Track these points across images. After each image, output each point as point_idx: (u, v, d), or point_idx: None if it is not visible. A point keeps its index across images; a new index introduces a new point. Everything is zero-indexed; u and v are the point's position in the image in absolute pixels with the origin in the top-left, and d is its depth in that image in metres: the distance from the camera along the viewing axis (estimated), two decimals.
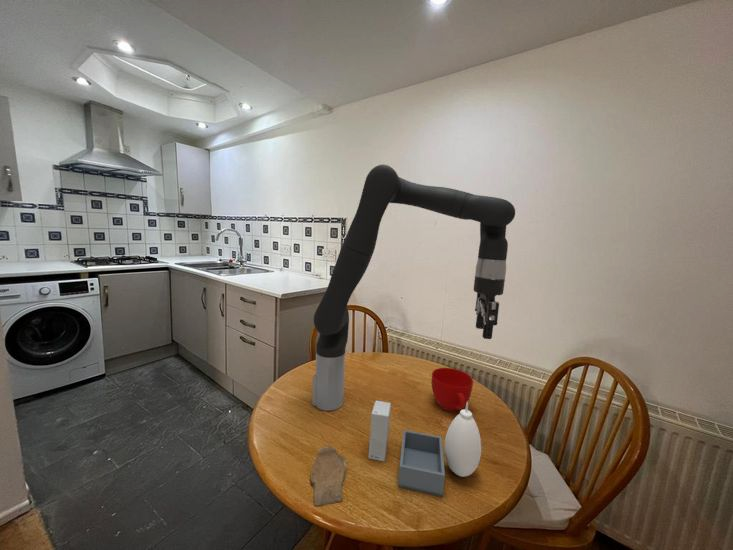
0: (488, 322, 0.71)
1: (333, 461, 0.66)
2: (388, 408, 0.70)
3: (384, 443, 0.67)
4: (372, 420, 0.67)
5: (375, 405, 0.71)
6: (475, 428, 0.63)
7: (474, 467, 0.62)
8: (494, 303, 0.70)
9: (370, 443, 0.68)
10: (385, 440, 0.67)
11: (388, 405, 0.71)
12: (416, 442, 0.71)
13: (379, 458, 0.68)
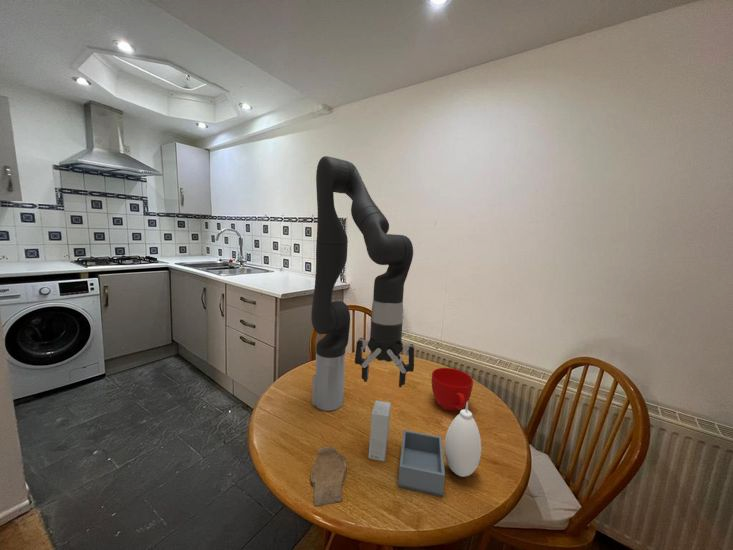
0: (413, 368, 0.66)
1: (333, 461, 0.66)
2: (388, 408, 0.70)
3: (384, 443, 0.67)
4: (372, 420, 0.67)
5: (375, 405, 0.71)
6: (475, 428, 0.63)
7: (474, 467, 0.62)
8: (413, 346, 0.66)
9: (370, 443, 0.68)
10: (385, 440, 0.67)
11: (388, 405, 0.71)
12: (416, 442, 0.71)
13: (379, 458, 0.68)
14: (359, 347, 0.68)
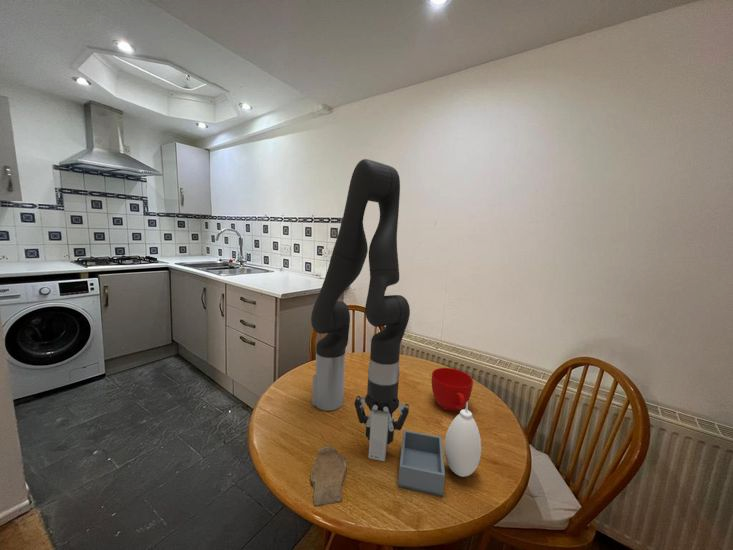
0: None
1: (333, 461, 0.66)
2: None
3: (384, 443, 0.67)
4: (372, 420, 0.67)
5: None
6: (475, 428, 0.63)
7: (474, 467, 0.62)
8: (408, 408, 0.68)
9: (370, 443, 0.68)
10: (385, 440, 0.67)
11: None
12: (416, 442, 0.71)
13: (379, 458, 0.68)
14: (358, 407, 0.69)
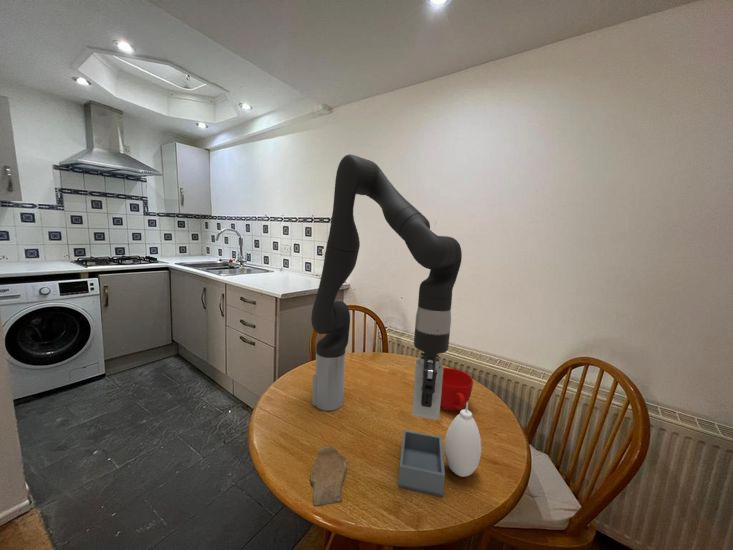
0: None
1: (333, 461, 0.66)
2: None
3: None
4: (442, 376, 0.61)
5: None
6: (475, 428, 0.63)
7: (474, 467, 0.62)
8: None
9: (440, 402, 0.62)
10: None
11: None
12: (416, 442, 0.71)
13: None
14: None
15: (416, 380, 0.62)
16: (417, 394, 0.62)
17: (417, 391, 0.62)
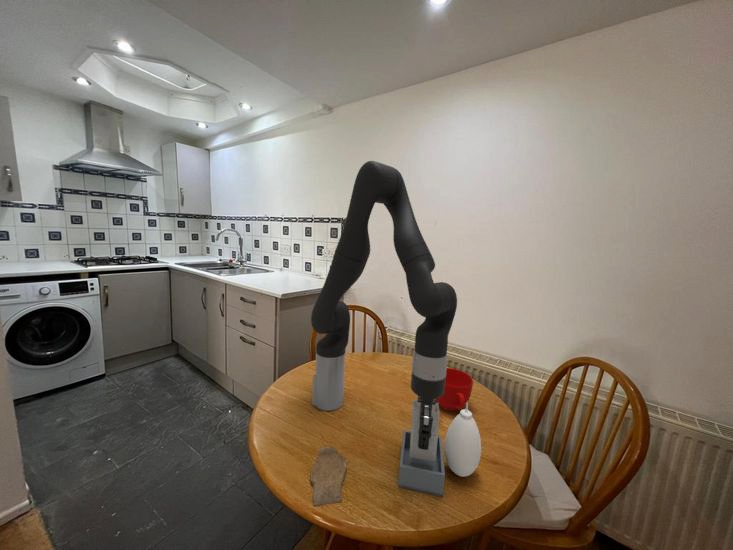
0: None
1: (333, 461, 0.66)
2: None
3: None
4: None
5: None
6: (475, 428, 0.63)
7: (474, 467, 0.62)
8: None
9: (436, 444, 0.63)
10: None
11: None
12: None
13: None
14: None
15: (413, 423, 0.63)
16: (414, 436, 0.63)
17: (414, 433, 0.63)
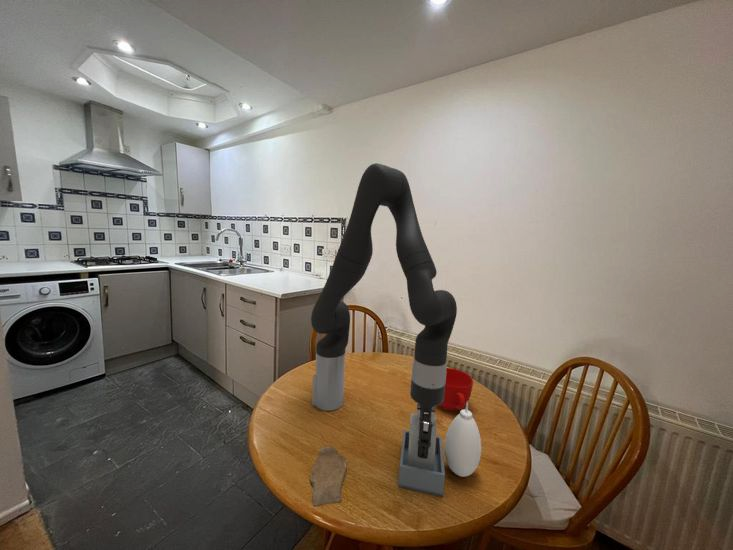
0: None
1: (333, 461, 0.66)
2: None
3: None
4: None
5: None
6: (475, 428, 0.63)
7: (474, 467, 0.62)
8: None
9: (434, 458, 0.63)
10: None
11: None
12: None
13: None
14: (431, 428, 0.58)
15: (411, 437, 0.64)
16: (412, 450, 0.64)
17: (411, 447, 0.64)
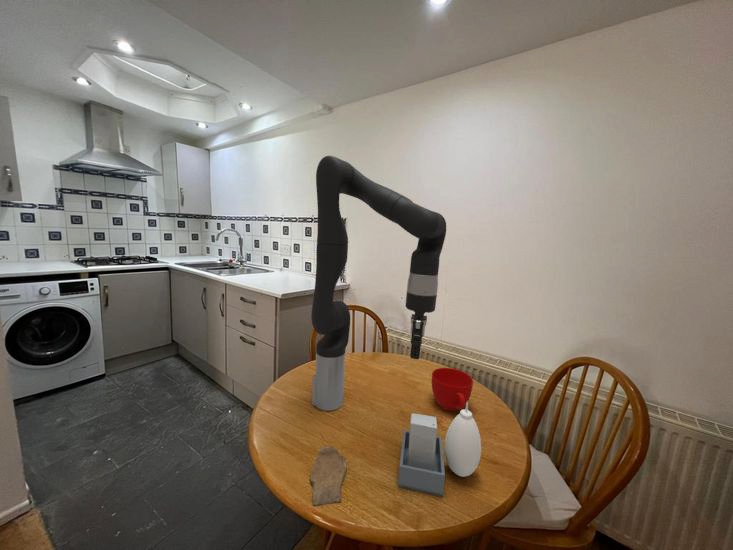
0: None
1: (333, 461, 0.66)
2: (422, 415, 0.67)
3: None
4: (436, 434, 0.63)
5: (421, 424, 0.63)
6: (475, 428, 0.63)
7: (474, 467, 0.62)
8: None
9: (434, 458, 0.64)
10: None
11: (417, 414, 0.67)
12: None
13: None
14: (423, 327, 0.66)
15: (411, 437, 0.64)
16: (412, 450, 0.64)
17: (412, 447, 0.64)
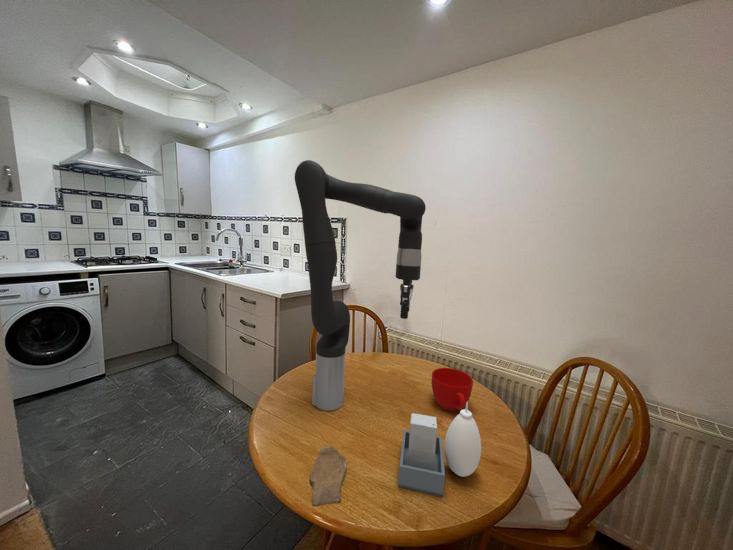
0: None
1: (334, 461, 0.66)
2: (422, 415, 0.67)
3: None
4: (436, 434, 0.63)
5: (421, 424, 0.63)
6: (475, 428, 0.63)
7: (474, 467, 0.62)
8: None
9: (434, 458, 0.64)
10: None
11: (417, 414, 0.67)
12: None
13: None
14: (409, 291, 0.81)
15: (411, 437, 0.64)
16: (412, 450, 0.64)
17: (412, 447, 0.64)
